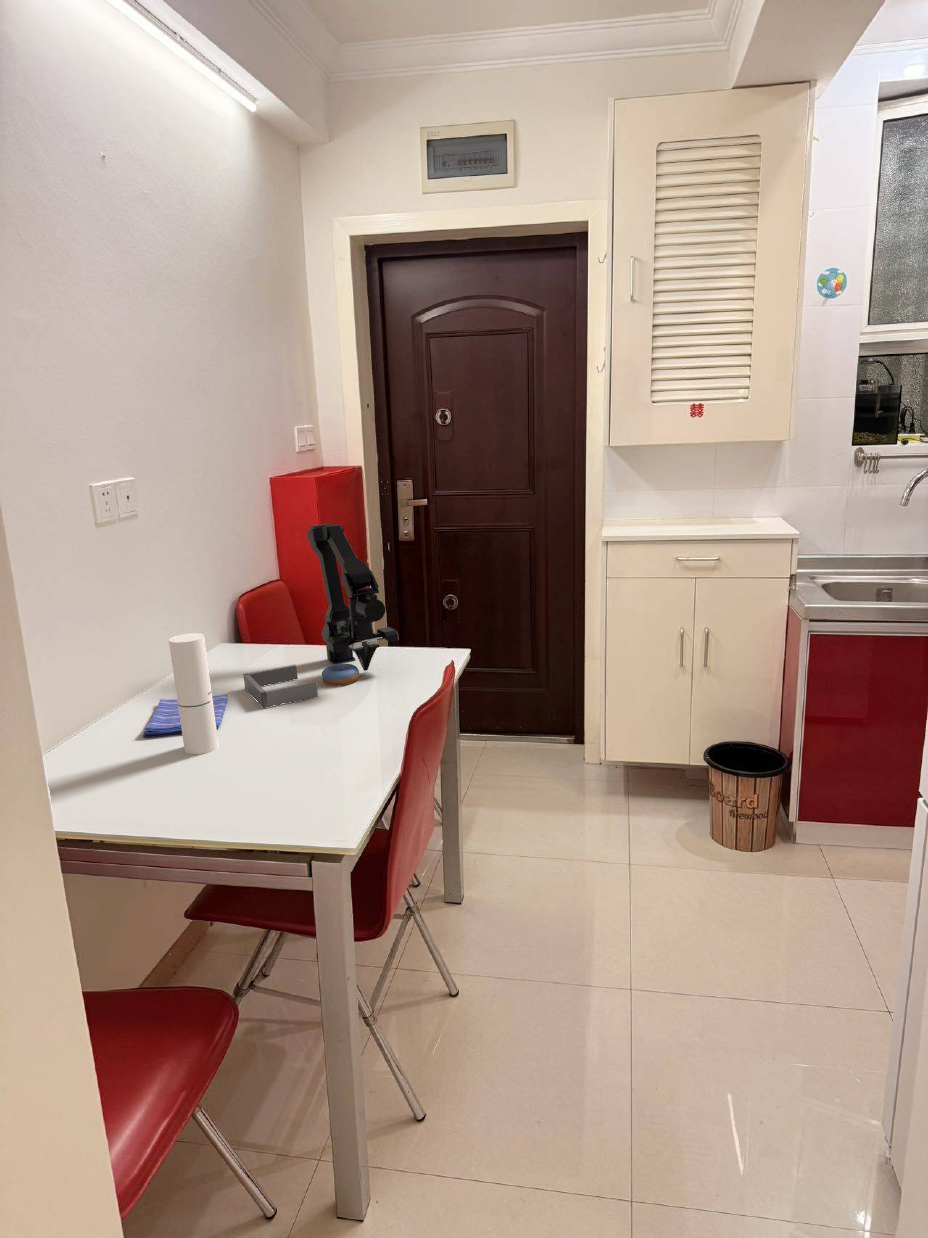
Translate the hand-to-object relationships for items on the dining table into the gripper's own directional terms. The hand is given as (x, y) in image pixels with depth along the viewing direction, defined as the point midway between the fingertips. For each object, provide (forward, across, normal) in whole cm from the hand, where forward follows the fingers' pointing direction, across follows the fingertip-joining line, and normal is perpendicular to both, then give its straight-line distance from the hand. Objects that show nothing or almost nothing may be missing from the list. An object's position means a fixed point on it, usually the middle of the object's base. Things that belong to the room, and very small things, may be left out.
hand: (365, 670), depth 228 cm
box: (+2, +24, -1) cm, 24 cm away
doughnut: (+2, +7, 0) cm, 7 cm away
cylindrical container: (+2, +49, +24) cm, 55 cm away
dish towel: (+2, +48, +3) cm, 48 cm away
